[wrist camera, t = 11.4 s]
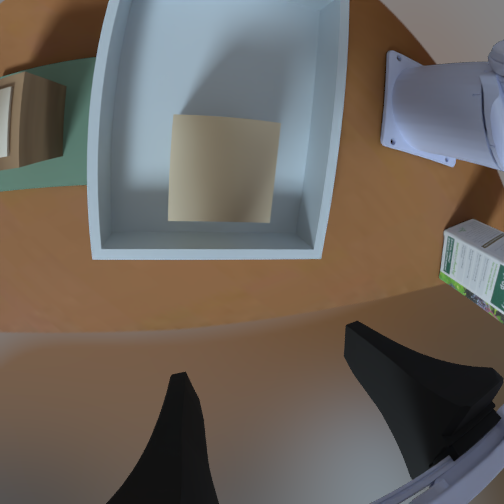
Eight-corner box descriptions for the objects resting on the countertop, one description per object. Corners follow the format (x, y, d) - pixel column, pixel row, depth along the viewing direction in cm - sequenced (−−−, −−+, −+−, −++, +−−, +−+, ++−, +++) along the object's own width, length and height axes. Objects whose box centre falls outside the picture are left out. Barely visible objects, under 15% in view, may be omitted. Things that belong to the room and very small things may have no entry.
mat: (100, 59, 13) (97, 56, 12) (91, 183, 16) (88, 184, 15) (1, 79, 11) (-4, 78, 10) (-4, 190, 14) (-8, 192, 13)
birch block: (250, 126, 16) (280, 123, 11) (243, 196, 18) (269, 222, 13) (176, 121, 15) (173, 114, 10) (171, 195, 17) (168, 221, 12)
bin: (324, 9, 14) (349, -8, 11) (299, 238, 20) (320, 258, 17) (129, -14, 11) (121, -38, 8) (106, 237, 17) (92, 259, 14)
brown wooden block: (66, 86, 12) (23, 70, 7) (62, 156, 14) (16, 168, 9) (11, 98, 11) (-40, 93, 6) (9, 163, 13) (-43, 179, 8)
